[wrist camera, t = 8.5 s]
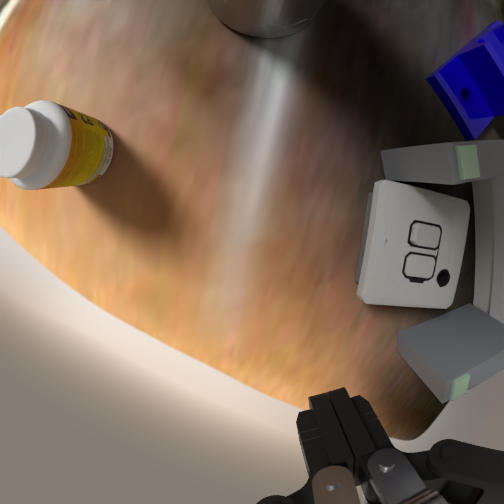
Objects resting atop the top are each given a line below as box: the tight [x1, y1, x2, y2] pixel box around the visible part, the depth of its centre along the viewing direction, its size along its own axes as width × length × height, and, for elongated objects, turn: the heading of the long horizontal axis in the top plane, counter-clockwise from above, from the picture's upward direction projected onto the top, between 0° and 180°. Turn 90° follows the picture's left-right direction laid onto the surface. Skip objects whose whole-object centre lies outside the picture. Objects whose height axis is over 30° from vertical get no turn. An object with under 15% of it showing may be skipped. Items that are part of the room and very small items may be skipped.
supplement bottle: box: [0, 100, 114, 190], centre depth 17 cm, size 6×6×10 cm
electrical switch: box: [354, 180, 470, 309], centre depth 23 cm, size 9×5×9 cm
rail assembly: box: [380, 140, 504, 404], centre depth 21 cm, size 20×12×10 cm, turn 12°
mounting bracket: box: [426, 20, 504, 141], centre depth 19 cm, size 18×7×6 cm, turn 132°
